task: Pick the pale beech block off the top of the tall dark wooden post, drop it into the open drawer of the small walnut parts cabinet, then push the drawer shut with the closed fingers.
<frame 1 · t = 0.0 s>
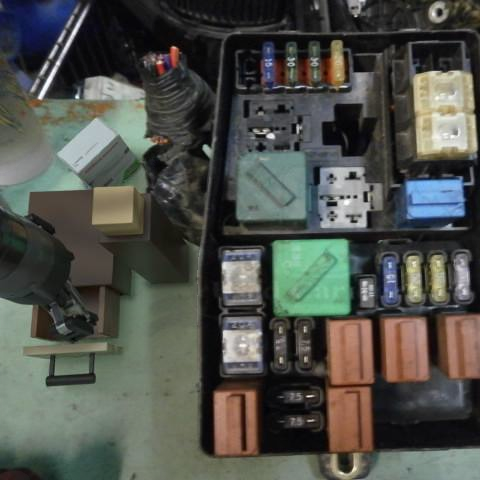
hand: (78, 290, 66), 19 cm above the table, tool pointing down, fingers open, 8 cm apart
block: (125, 217, 64), point 24 cm above the table, touching post
cabinet: (92, 253, 87), on the table
ink box: (113, 175, 91), on the table
drawer: (77, 323, 79), point 5 cm above the table, slide at 8.0 cm
post: (170, 265, 87), on the table
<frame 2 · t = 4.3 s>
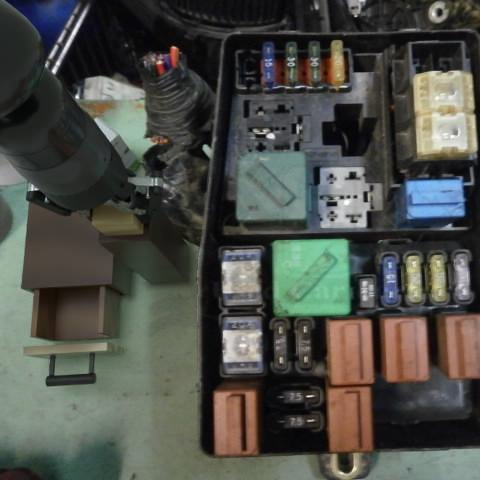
hand: (124, 216, 64), 24 cm above the table, tool pointing down, fingers closed on block, 4 cm apart
block: (125, 217, 64), point 24 cm above the table, touching gripper, post
everything else where it was.
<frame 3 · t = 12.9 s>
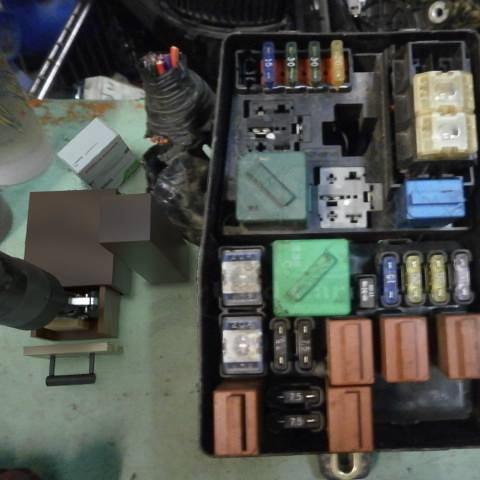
hand: (73, 315, 78), 6 cm above the table, tool pointing down, fingers closed on block, 4 cm apart
block: (74, 315, 79), point 6 cm above the table, touching gripper
everything else where it was.
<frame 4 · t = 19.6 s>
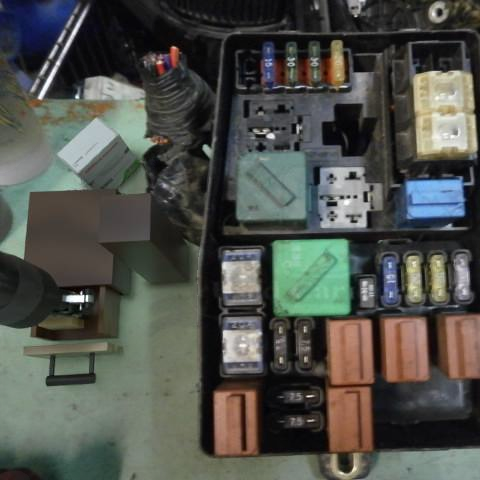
hand: (68, 313, 77), 8 cm above the table, tool pointing down, fingers closed on block, 4 cm apart
block: (69, 313, 77), point 7 cm above the table, touching gripper
everything else where it was.
when the fingers open (8 cm above the table, at t = 25.7 s): block drops 6 cm, resting on drawer.
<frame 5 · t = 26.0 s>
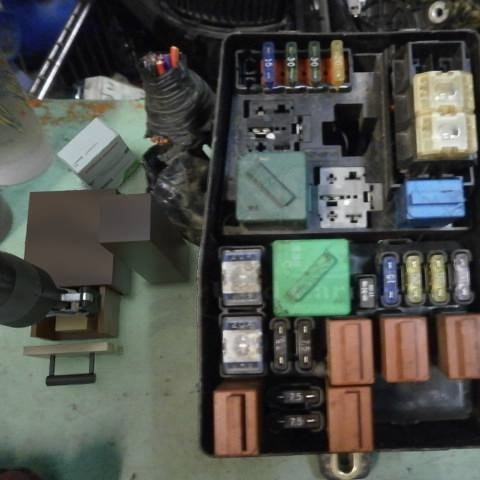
hand: (65, 312, 76), 9 cm above the table, tool pointing down, fingers open, 7 cm apart
block: (83, 318, 82), point 2 cm above the table, touching drawer
drawer: (77, 322, 79), point 5 cm above the table, slide at 8.0 cm, touching block
everything else where it was.
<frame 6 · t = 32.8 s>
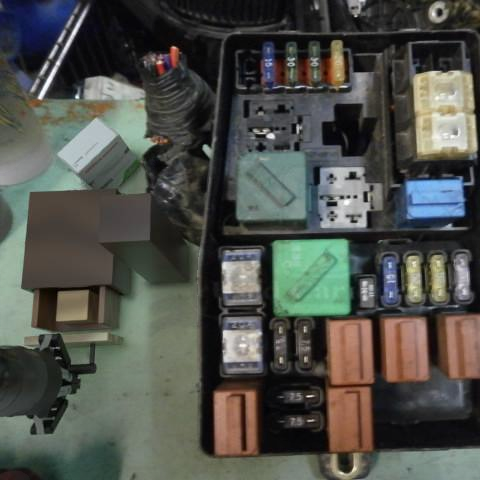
hand: (73, 384, 76), 5 cm above the table, tool pointing down, fingers closed
block: (83, 310, 82), point 2 cm above the table, touching drawer
drawer: (77, 313, 80), point 5 cm above the table, slide at 6.6 cm, touching block, gripper
everything else where it was.
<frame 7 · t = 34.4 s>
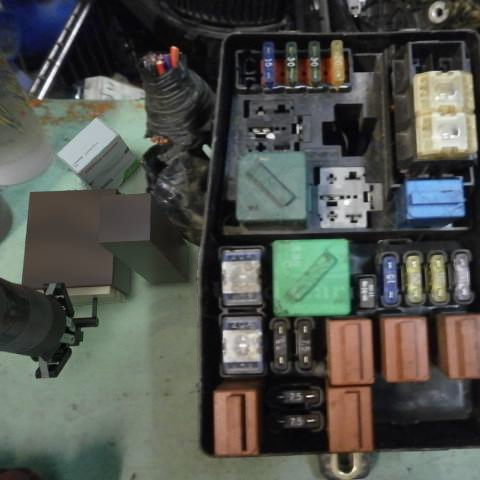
hand: (76, 337, 78), 5 cm above the table, tool pointing down, fingers closed
block: (86, 267, 84), point 2 cm above the table, touching drawer
drawer: (80, 270, 82), point 5 cm above the table, slide at 0.0 cm, touching block, cabinet, gripper
everything else where it was.
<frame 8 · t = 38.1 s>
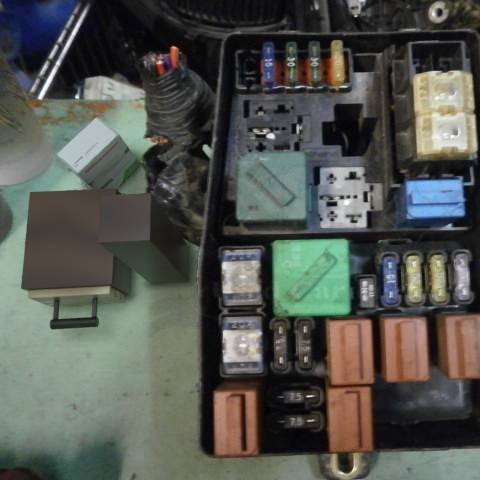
drawer: (80, 270, 82), point 5 cm above the table, slide at 0.0 cm, touching block
everything else where it was.
at the end: block inside the target area in the cabinet (3.0 cm from its centre), point 2.0 cm above the cabinet's base; drawer slide at 0.0 cm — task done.
